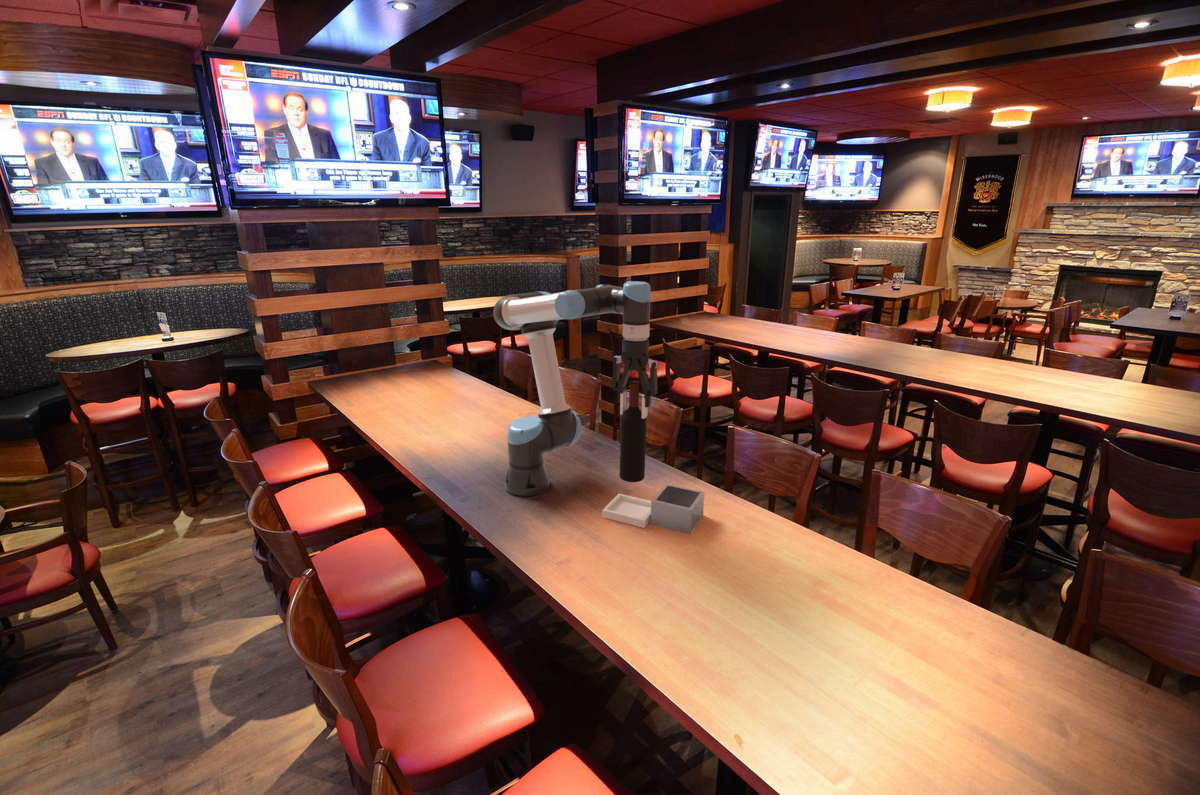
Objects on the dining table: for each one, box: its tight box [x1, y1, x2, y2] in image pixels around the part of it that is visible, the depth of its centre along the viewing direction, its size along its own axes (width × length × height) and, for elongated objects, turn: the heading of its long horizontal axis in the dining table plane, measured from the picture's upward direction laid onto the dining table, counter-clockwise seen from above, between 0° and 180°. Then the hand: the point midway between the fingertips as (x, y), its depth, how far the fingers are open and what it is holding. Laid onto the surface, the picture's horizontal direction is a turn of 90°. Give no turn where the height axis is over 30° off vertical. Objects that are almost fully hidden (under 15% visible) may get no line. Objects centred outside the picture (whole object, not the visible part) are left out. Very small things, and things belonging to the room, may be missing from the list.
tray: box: [601, 493, 651, 529], centre depth 179 cm, size 14×12×2 cm
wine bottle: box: [619, 380, 647, 483], centre depth 170 cm, size 8×8×30 cm
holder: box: [649, 483, 705, 535], centre depth 175 cm, size 12×12×8 cm
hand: (633, 415), depth 169 cm, fingers closed on wine bottle, 6 cm apart
